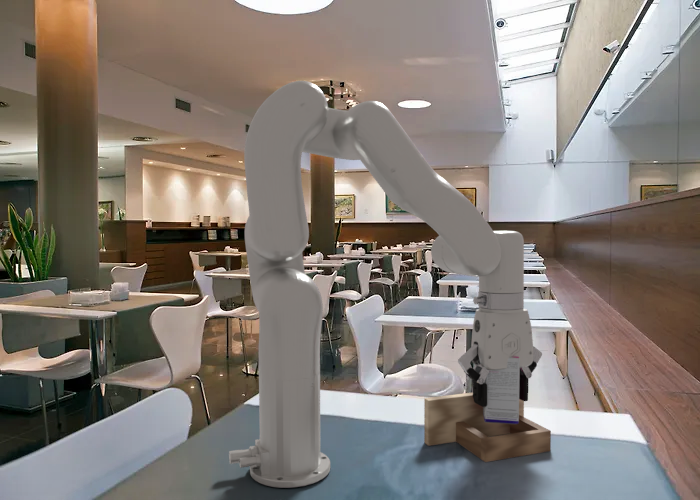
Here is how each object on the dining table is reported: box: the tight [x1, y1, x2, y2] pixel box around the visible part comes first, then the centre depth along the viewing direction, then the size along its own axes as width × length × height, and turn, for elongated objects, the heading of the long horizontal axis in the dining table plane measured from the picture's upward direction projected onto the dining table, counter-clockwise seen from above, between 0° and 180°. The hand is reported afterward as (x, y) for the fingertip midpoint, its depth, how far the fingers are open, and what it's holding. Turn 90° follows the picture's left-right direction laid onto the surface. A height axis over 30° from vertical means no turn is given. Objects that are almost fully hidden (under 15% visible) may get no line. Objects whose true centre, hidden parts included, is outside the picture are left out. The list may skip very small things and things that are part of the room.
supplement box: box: [483, 357, 520, 424], centre depth 96 cm, size 6×6×12 cm
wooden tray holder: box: [423, 391, 552, 463], centre depth 96 cm, size 20×11×8 cm, turn 110°
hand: (500, 401), depth 96 cm, fingers closed on supplement box, 7 cm apart
